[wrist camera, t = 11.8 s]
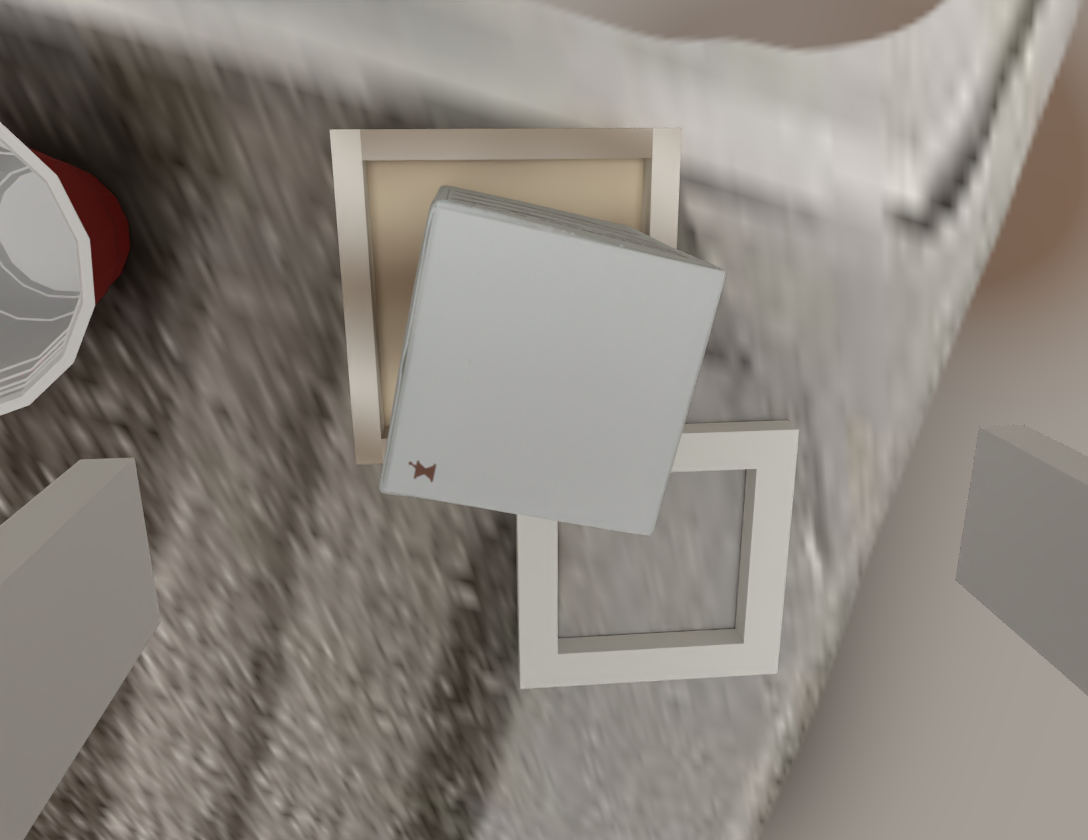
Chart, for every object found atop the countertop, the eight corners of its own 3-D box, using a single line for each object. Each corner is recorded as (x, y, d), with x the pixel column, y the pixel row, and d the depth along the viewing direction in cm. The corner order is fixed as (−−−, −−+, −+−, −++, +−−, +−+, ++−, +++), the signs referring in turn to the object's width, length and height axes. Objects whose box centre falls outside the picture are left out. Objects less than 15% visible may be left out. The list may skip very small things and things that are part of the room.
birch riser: (624, 387, 42) (668, 453, 33) (379, 394, 41) (355, 464, 32) (630, 131, 39) (681, 127, 30) (361, 133, 38) (329, 129, 29)
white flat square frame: (768, 657, 48) (777, 673, 47) (518, 672, 47) (520, 688, 45) (788, 420, 44) (799, 429, 42) (514, 429, 43) (516, 439, 41)
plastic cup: (222, 332, 40) (126, 407, 28) (-15, 365, 39) (-209, 455, 28) (160, 83, 36) (23, 56, 25) (-101, 116, 36) (-362, 104, 25)
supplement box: (586, 407, 34) (653, 551, 22) (401, 369, 33) (366, 498, 21) (635, 223, 32) (738, 271, 20) (439, 175, 31) (425, 195, 19)
